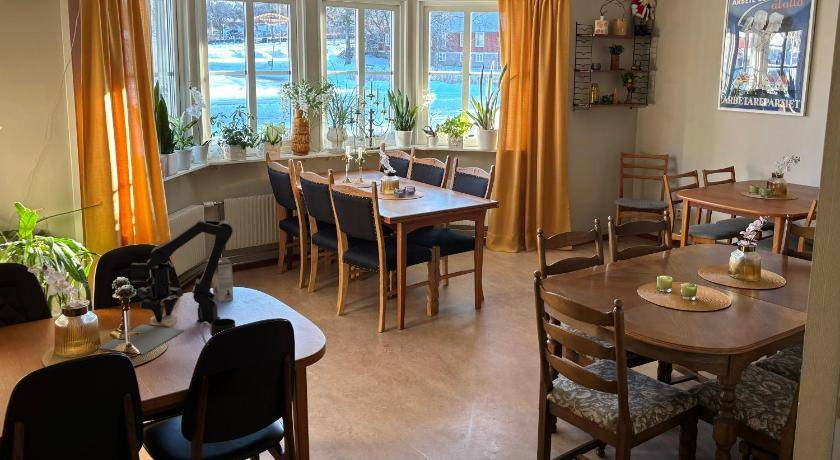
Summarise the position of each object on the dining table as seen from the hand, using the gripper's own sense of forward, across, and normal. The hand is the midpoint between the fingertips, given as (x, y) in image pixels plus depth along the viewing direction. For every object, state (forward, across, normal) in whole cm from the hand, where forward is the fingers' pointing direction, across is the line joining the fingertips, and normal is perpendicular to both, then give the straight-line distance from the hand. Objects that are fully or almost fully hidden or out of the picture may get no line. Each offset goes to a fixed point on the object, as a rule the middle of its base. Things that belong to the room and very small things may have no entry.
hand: (163, 320), depth 290 cm
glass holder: (+1, +28, +40) cm, 49 cm away
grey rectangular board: (+1, +17, +3) cm, 17 cm away
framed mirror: (+1, 0, 0) cm, 1 cm away
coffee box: (+1, -34, +5) cm, 34 cm away
